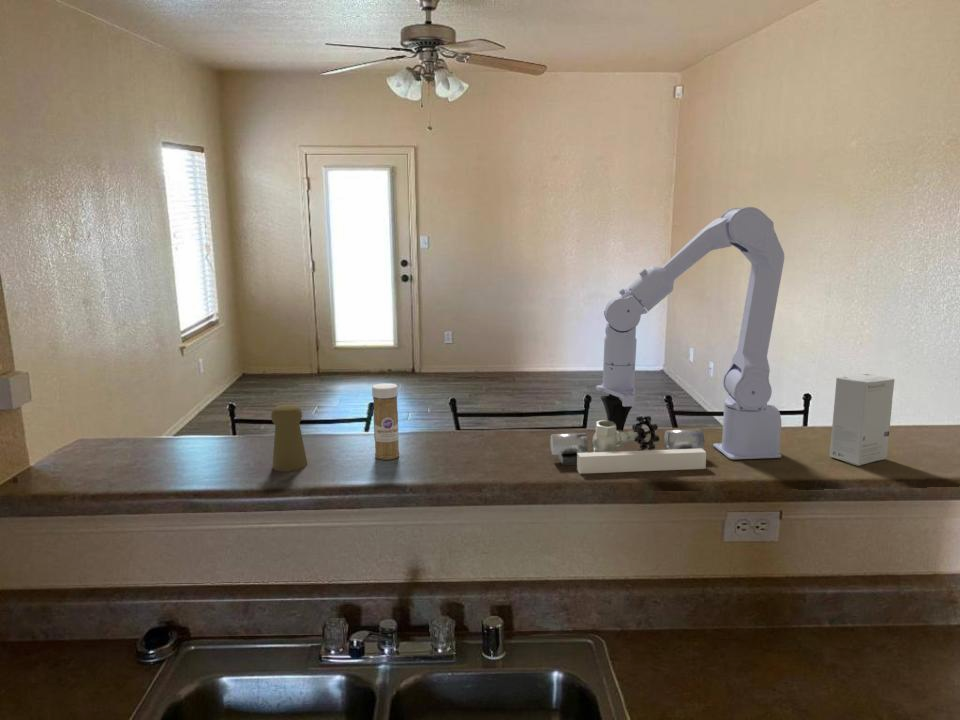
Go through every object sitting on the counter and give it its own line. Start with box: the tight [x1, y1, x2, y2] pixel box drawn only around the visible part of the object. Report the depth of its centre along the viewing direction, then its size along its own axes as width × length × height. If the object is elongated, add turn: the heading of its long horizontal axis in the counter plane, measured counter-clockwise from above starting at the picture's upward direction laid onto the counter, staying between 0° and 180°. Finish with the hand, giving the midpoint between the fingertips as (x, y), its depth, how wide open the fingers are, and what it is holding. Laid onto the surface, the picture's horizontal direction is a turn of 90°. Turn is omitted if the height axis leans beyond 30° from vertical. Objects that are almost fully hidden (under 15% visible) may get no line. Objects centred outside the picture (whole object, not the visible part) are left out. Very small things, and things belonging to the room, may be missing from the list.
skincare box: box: [829, 373, 895, 467], centre depth 123 cm, size 8×6×15 cm
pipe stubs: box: [550, 428, 705, 466], centre depth 124 cm, size 27×4×5 cm, turn 95°
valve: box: [592, 415, 660, 452], centre depth 126 cm, size 7×7×12 cm
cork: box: [270, 403, 309, 473], centre depth 122 cm, size 6×6×11 cm
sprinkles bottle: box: [371, 382, 400, 460], centre depth 126 cm, size 5×5×13 cm
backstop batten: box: [576, 448, 707, 475], centre depth 119 cm, size 22×2×3 cm, turn 95°
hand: (615, 434), depth 130 cm, fingers closed
